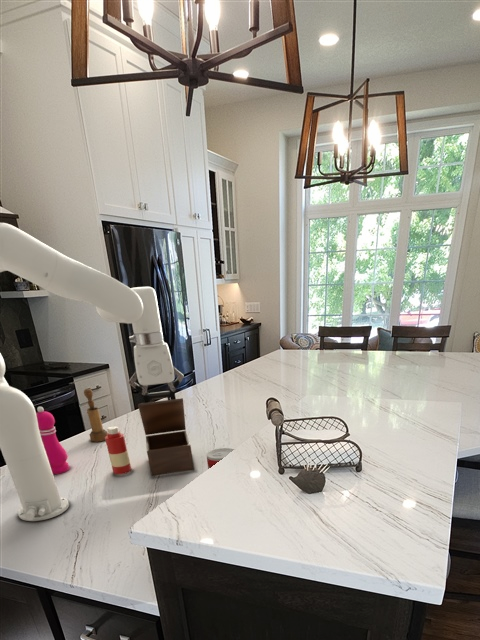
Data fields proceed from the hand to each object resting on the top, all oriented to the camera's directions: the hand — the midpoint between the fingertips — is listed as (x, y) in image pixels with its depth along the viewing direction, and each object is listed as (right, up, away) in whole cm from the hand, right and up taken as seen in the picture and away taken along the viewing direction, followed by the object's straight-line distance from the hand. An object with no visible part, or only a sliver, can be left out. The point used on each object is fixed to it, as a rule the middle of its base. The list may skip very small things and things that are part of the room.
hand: (161, 405), depth 138 cm
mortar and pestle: (-31, -1, +38) cm, 48 cm away
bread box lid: (0, -3, +3) cm, 4 cm away
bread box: (+1, -16, +9) cm, 18 cm away
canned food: (+20, -27, -10) cm, 35 cm away
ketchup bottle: (-13, -18, +7) cm, 24 cm away
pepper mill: (-35, -17, +13) cm, 41 cm away
